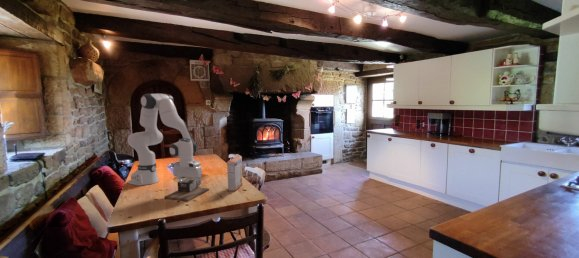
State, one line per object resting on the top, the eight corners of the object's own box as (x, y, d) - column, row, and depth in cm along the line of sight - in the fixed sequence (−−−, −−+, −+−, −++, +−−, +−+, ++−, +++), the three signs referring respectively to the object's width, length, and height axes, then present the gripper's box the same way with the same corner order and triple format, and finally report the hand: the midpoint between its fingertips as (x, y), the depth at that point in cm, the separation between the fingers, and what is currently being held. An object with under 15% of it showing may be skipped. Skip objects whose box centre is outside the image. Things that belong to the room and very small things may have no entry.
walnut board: (164, 198, 175) (164, 196, 175) (187, 187, 196) (187, 186, 196) (188, 201, 170) (188, 199, 170) (209, 190, 191) (208, 188, 191)
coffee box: (201, 175, 199) (189, 183, 183) (201, 184, 199) (190, 192, 184) (189, 174, 200) (177, 182, 184) (190, 183, 201) (177, 191, 185)
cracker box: (234, 184, 203) (234, 157, 201) (242, 185, 202) (242, 157, 200) (227, 191, 189) (226, 161, 187) (235, 191, 188) (235, 161, 186)
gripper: (170, 163, 181) (171, 183, 182) (196, 165, 175) (197, 186, 176) (177, 161, 187) (178, 181, 188) (202, 162, 180) (203, 183, 182)
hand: (187, 183), depth 182 cm, fingers open, 8 cm apart
